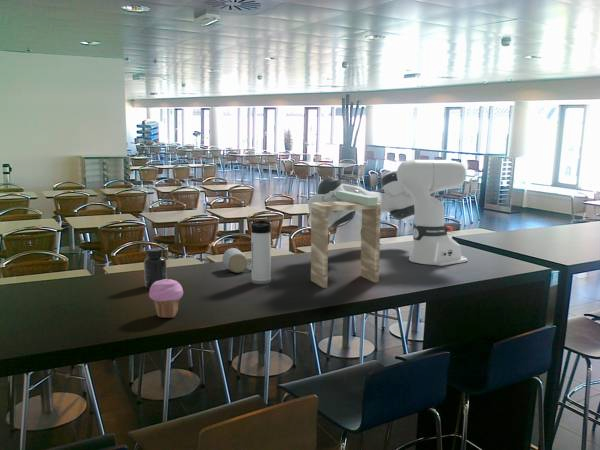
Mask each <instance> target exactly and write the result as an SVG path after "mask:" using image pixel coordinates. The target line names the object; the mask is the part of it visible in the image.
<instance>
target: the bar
mask: <svg viewBox="0 0 600 450" xmlns="http://www.w3.org/2000/svg"><path fill="white" fill-rule="evenodd" d="M336 198H338V199H342V200H346V201H350V202H355V203H359V204H363V205H367V206H374V205H377V197H373V196H368V195H363V194H358V193H353V192H348V191H336Z"/></svg>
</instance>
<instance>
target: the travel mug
mask: <svg viewBox="0 0 600 450" xmlns="http://www.w3.org/2000/svg"><path fill="white" fill-rule="evenodd" d="M250 227H251V235H250V236H251V238H250V239H251V241H250V242H251V244H250V245H251V248H250V250H251V251H250V252H251V254H250V255H251V260H250V261H251V262H250V263H251V264H252V270H251V283H252V284H254V285H267V284H270V283H271V281H272V278H271V277H272V275H271V274H272V273H271V271H272V270H271V267H272V266H271V265H272V262H271V261H272V259H271V258H272V254H271V250H272V249H271V248H272V247H271V246H272V245H271V243H272V242H271V232H272V231H271V222H270V221H266V220H263V219H262V220H261V219H260V220H259V221H254V222H251V226H250Z"/></svg>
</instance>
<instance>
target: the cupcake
mask: <svg viewBox="0 0 600 450" xmlns="http://www.w3.org/2000/svg"><path fill="white" fill-rule="evenodd" d="M183 295H184V290H183V286H182V285H181V284H180V282H178V280H174V279H170V278H169V279H168V278H167V279H163V280H160V281H156V282H154V283H153V284H152V285H151V288H150V289H149V294H148V296H149V298H150V299H151V300H153V304H154V307H155V311H156V312H155V313H156V315H157V317H159V318H168V319H169V318H170V319H171V318H172V319H173V318H174V317H176V315H177V314H178V310H179V304H180V299H182V298H183Z"/></svg>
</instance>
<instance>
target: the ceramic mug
mask: <svg viewBox="0 0 600 450" xmlns="http://www.w3.org/2000/svg"><path fill="white" fill-rule="evenodd" d="M222 263H223V265H224V267H226V269H227V270H229V271H230V272H232V273H234V274H238V273H239V274H240V273H243V272H244V271H245V270H249V271H252V263H251V262H248V259H247V256H246V255H245V254H244V253H243V252H242V251H241V250H240V249H239V248H236V247H235V248H234V247H232V248H228V249H226V250H225V251H224V253H223V255H222Z"/></svg>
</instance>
